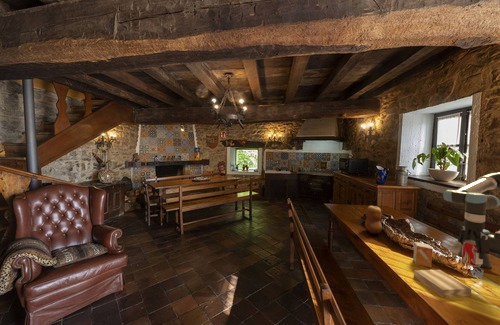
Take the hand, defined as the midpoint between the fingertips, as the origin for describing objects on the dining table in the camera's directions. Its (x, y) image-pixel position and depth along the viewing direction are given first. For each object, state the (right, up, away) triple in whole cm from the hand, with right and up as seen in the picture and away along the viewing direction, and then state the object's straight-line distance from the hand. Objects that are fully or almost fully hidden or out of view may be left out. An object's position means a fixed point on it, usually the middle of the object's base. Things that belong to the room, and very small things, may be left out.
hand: (471, 259), depth 108 cm
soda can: (0, -3, 0) cm, 3 cm away
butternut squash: (-12, -10, +69) cm, 70 cm away
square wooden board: (-19, -14, -1) cm, 24 cm away
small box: (-10, -13, +20) cm, 26 cm away
